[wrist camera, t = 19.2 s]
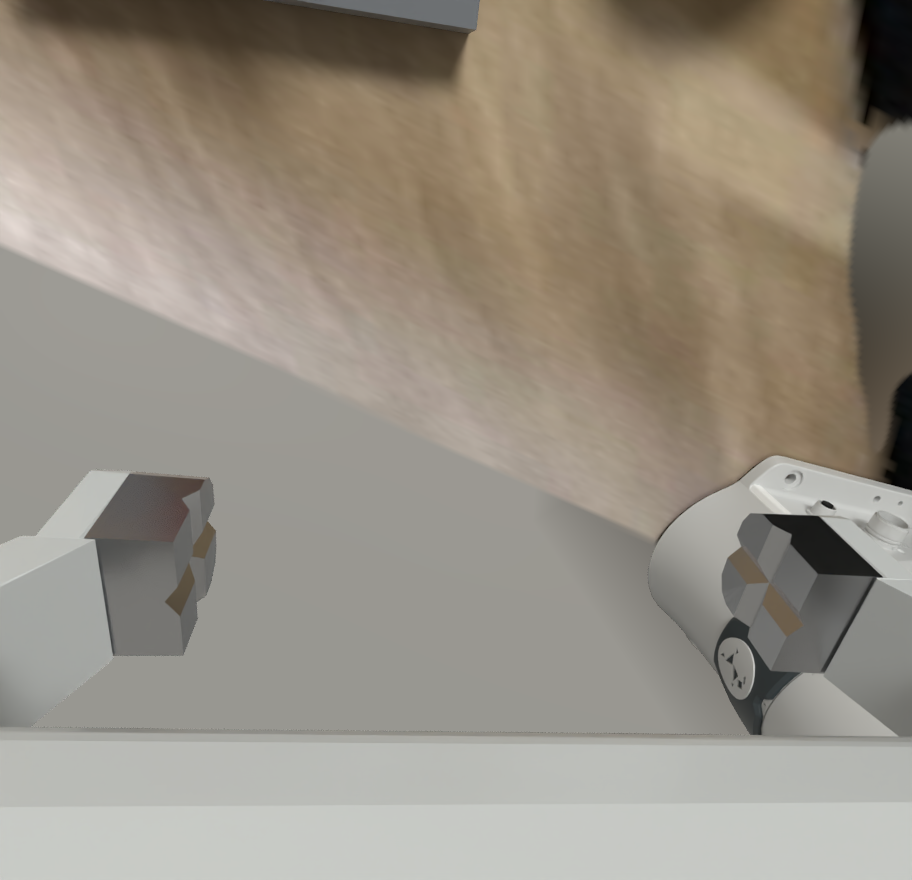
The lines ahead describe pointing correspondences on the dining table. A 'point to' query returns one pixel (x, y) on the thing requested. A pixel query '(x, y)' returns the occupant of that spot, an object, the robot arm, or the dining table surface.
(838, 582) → the robot arm
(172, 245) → the dining table surface
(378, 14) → the frame
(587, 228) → the dining table surface
